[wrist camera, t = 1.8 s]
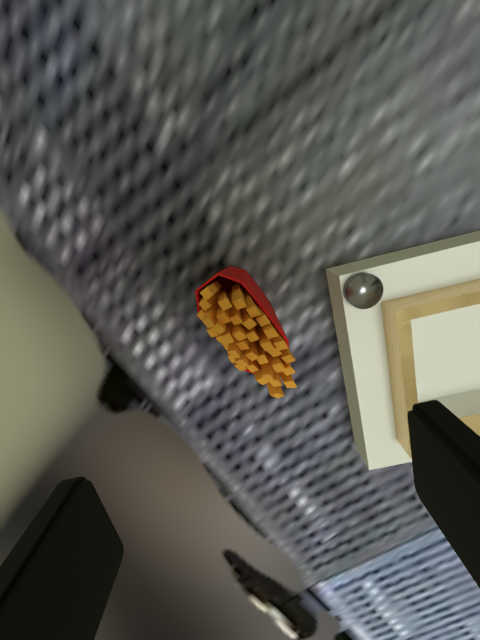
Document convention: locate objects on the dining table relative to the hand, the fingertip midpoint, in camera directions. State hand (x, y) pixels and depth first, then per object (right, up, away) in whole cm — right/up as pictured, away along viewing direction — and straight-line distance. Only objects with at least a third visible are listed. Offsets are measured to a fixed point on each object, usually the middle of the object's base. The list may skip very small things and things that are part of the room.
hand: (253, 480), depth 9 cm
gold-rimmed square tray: (+20, +2, +21) cm, 29 cm away
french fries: (0, +7, +20) cm, 21 cm away
